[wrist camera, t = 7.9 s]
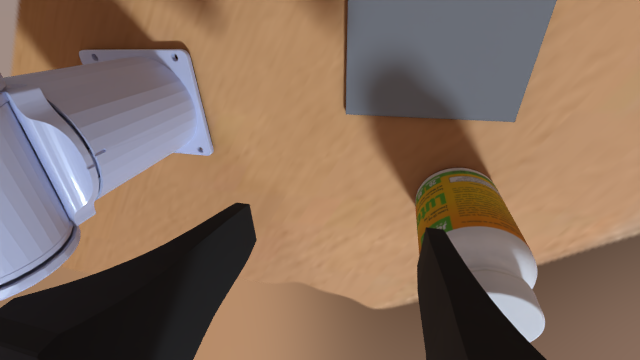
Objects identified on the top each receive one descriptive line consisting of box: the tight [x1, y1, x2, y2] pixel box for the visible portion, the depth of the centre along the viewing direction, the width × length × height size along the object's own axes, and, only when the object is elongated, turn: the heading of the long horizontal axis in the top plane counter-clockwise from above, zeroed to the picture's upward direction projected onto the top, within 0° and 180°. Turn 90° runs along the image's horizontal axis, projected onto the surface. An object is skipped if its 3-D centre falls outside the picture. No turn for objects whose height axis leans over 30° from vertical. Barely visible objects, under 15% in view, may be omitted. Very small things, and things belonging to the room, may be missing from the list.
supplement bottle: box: [415, 168, 545, 342], centre depth 16 cm, size 5×5×10 cm
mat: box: [346, 0, 557, 122], centre depth 15 cm, size 10×10×1 cm
